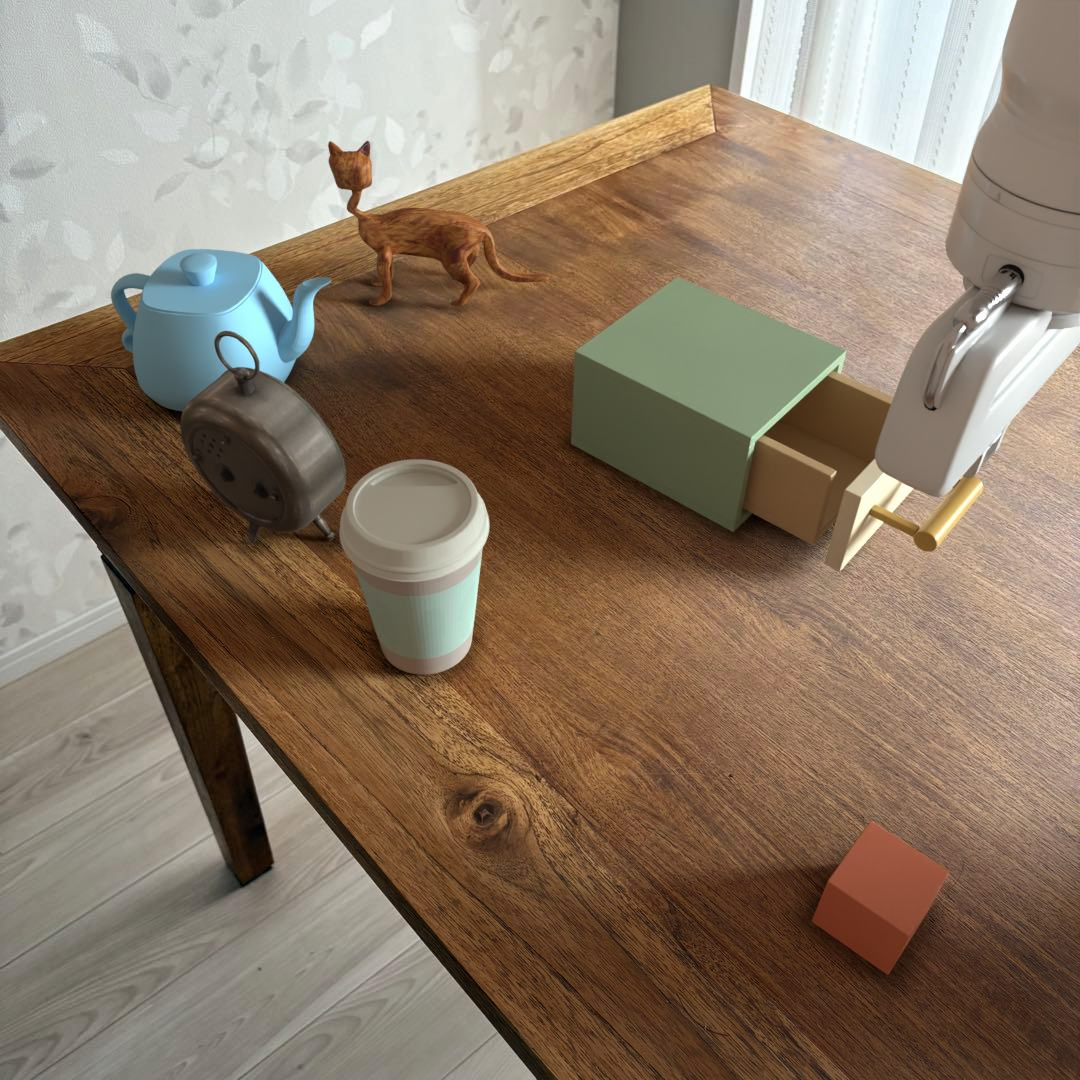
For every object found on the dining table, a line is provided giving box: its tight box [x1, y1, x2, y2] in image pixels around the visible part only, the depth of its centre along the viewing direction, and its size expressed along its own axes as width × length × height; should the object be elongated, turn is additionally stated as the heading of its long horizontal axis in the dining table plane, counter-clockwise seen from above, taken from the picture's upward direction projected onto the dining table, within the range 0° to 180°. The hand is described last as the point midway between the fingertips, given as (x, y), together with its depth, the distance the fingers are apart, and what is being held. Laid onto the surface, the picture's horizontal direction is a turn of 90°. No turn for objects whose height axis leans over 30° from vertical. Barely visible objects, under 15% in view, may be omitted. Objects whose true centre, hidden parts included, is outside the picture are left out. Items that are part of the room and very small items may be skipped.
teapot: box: [110, 248, 332, 413], centre depth 86 cm, size 13×11×18 cm
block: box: [811, 820, 950, 976], centre depth 56 cm, size 4×4×4 cm
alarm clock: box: [180, 331, 347, 544], centre depth 72 cm, size 11×5×16 cm, turn 58°
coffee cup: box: [338, 458, 491, 676], centre depth 66 cm, size 8×8×12 cm
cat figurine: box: [327, 140, 551, 307], centre depth 94 cm, size 18×7×14 cm, turn 93°
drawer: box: [743, 371, 984, 572], centre depth 76 cm, size 18×11×7 cm, turn 50°
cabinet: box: [570, 276, 848, 533], centre depth 81 cm, size 15×13×9 cm
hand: (969, 460), depth 60 cm, fingers closed
